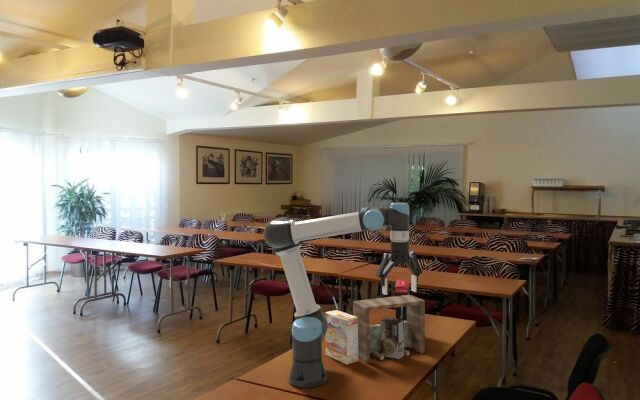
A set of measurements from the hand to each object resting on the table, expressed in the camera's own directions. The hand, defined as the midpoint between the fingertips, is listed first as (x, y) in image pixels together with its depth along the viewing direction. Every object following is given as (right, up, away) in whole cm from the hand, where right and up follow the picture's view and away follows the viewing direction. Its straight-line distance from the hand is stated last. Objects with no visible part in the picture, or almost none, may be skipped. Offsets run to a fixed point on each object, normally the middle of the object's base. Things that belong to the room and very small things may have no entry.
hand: (399, 292), depth 194 cm
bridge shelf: (-1, -32, +21) cm, 38 cm away
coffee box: (0, -32, +19) cm, 37 cm away
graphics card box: (+9, -31, +44) cm, 55 cm away
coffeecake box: (-23, -32, +16) cm, 43 cm away
